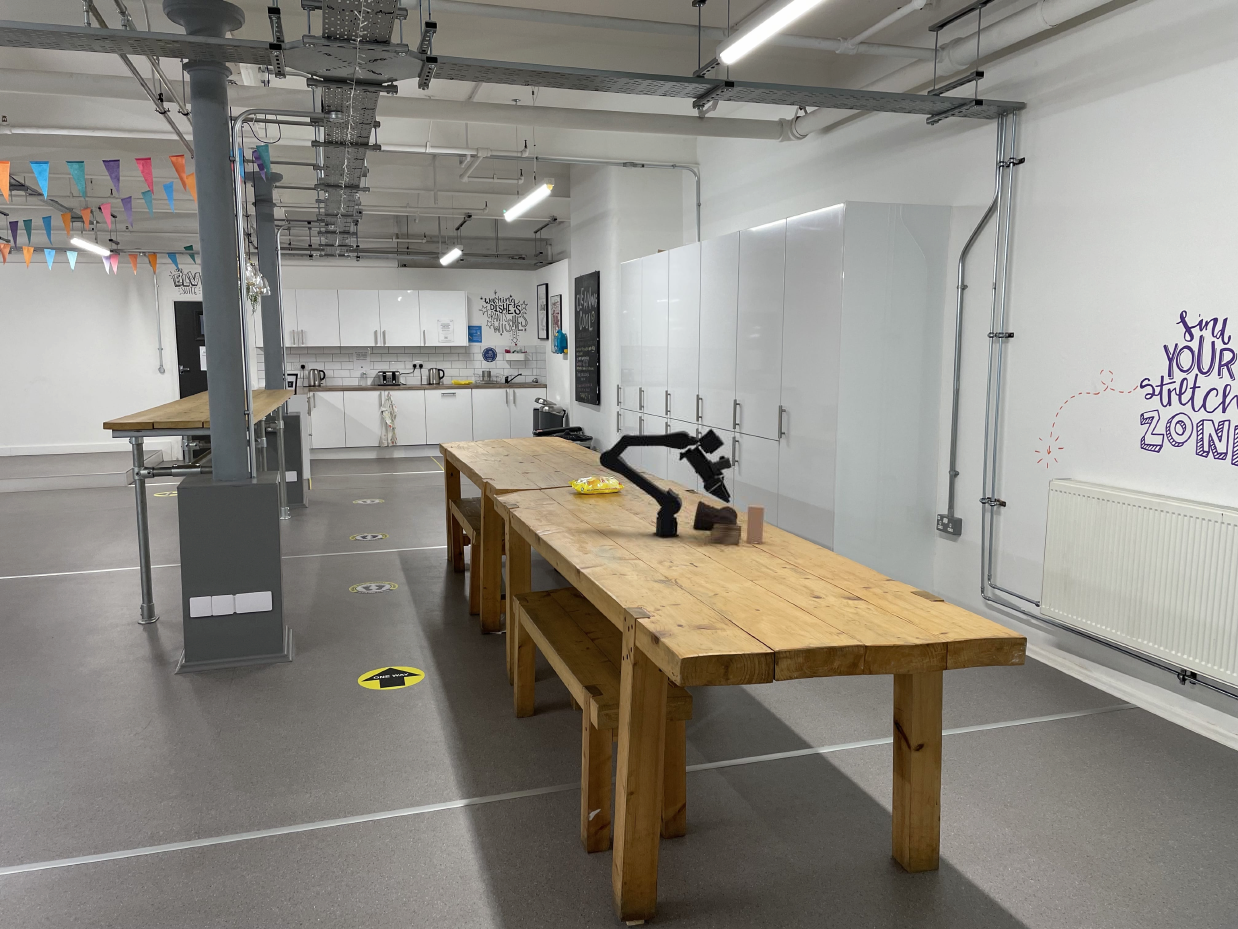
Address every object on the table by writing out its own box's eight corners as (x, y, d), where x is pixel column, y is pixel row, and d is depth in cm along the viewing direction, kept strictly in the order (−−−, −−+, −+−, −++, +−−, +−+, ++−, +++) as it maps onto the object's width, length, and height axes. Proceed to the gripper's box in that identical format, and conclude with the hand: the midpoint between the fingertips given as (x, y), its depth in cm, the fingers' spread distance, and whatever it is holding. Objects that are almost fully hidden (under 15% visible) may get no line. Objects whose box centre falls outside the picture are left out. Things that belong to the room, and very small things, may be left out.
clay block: (746, 542, 282) (748, 506, 280) (747, 540, 286) (749, 504, 284) (761, 543, 281) (763, 507, 279) (762, 541, 285) (764, 505, 283)
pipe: (740, 504, 311) (699, 495, 312) (741, 514, 296) (698, 504, 297) (733, 529, 313) (693, 520, 314) (735, 541, 298) (692, 531, 299)
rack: (710, 543, 280) (710, 531, 279) (714, 534, 293) (714, 523, 292) (738, 545, 278) (738, 533, 278) (740, 536, 291) (741, 525, 290)
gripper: (718, 451, 274) (748, 489, 274) (720, 445, 292) (748, 481, 292) (690, 472, 276) (721, 510, 276) (694, 465, 294) (722, 500, 294)
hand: (729, 500), depth 285 cm, fingers open, 9 cm apart
